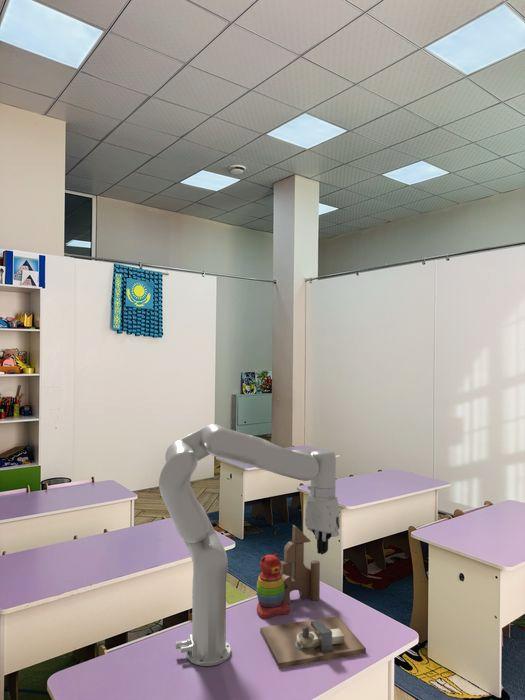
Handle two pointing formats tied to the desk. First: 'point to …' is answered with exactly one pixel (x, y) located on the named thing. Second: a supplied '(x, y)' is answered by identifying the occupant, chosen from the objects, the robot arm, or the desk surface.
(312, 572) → the wooden toy
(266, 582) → the stacking bear
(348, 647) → the base board
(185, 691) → the desk surface
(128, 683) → the desk surface
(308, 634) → the link
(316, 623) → the keeper
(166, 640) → the desk surface
